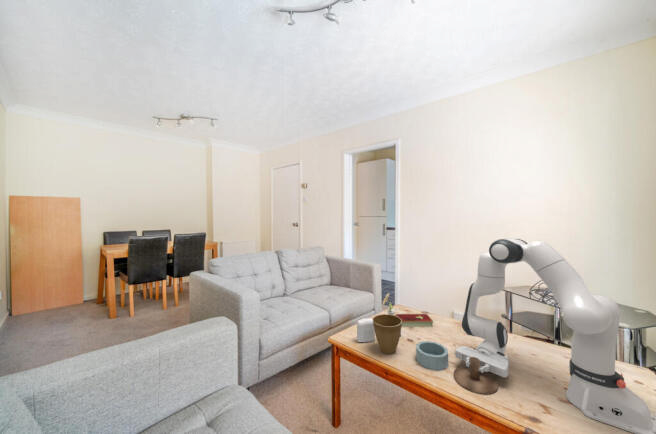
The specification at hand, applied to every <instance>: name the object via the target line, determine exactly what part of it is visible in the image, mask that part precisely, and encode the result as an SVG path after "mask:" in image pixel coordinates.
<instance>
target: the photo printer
mask: <svg viewBox="0 0 656 434" xmlns="http://www.w3.org/2000/svg"><path fill="white" fill-rule="evenodd" d="M375 340H376V334H375V330H374V325H373V318H362V319H359V320H357V322H356V341H358V343H359V342H363V343H370V342H374V341H375Z"/></svg>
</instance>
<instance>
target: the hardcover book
mask: <svg viewBox="0 0 656 434" xmlns="http://www.w3.org/2000/svg"><path fill="white" fill-rule="evenodd" d="M394 316H397V317H399V318H400V319H401V320H402V326H401V328H402V327H403V328H414V327H415V328H417V327H418V328H426V327H427V328H433V327H434V326H433V325H434V324H433V323H434V321H433V319H432V318H431V317H430V315H429V314H428V313H394Z"/></svg>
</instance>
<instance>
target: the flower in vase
mask: <svg viewBox="0 0 656 434" xmlns="http://www.w3.org/2000/svg"><path fill="white" fill-rule="evenodd" d="M389 297H390V293H387V294H385V298H383V301H382V306H385V304H386V303H387V302H388V304H389V305H388V309H386V313H387V314H389V315H394V316H395V314H396V313H395V312H396V310H395V309H393V307H394V306H393V305H392V302H390V301H389ZM401 334H402V332H401V333H400V335H401Z"/></svg>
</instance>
